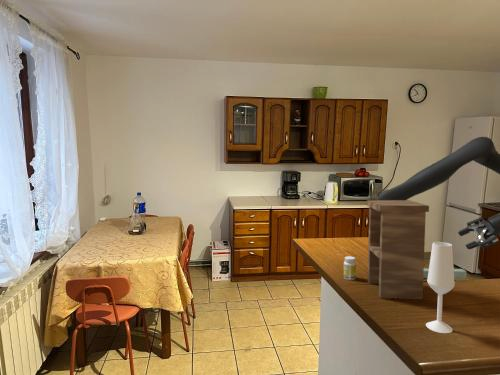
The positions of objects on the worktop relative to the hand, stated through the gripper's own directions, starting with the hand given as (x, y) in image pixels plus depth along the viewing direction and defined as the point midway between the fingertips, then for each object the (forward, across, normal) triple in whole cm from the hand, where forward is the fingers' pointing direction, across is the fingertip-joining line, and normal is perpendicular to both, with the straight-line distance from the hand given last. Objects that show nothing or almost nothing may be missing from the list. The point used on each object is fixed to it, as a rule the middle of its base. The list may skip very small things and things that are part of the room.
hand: (462, 240), depth 136 cm
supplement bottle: (+42, +14, -17) cm, 47 cm away
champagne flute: (+16, +48, -17) cm, 53 cm away
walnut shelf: (+28, +23, -12) cm, 38 cm away
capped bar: (+18, +7, +4) cm, 20 cm away
